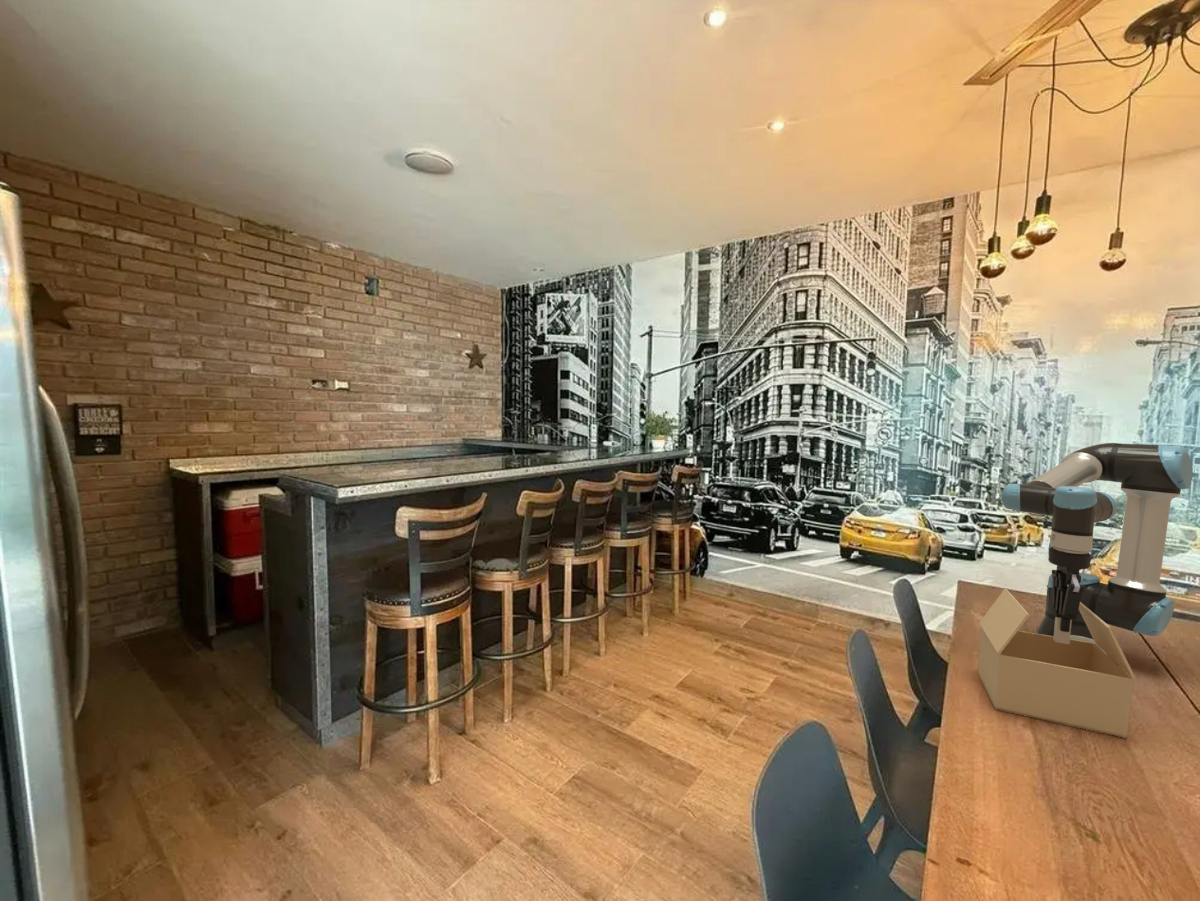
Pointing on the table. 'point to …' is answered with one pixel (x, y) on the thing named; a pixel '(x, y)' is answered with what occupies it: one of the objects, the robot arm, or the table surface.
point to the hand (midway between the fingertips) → (1061, 641)
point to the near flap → (1105, 638)
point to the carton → (1057, 682)
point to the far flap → (1003, 620)
